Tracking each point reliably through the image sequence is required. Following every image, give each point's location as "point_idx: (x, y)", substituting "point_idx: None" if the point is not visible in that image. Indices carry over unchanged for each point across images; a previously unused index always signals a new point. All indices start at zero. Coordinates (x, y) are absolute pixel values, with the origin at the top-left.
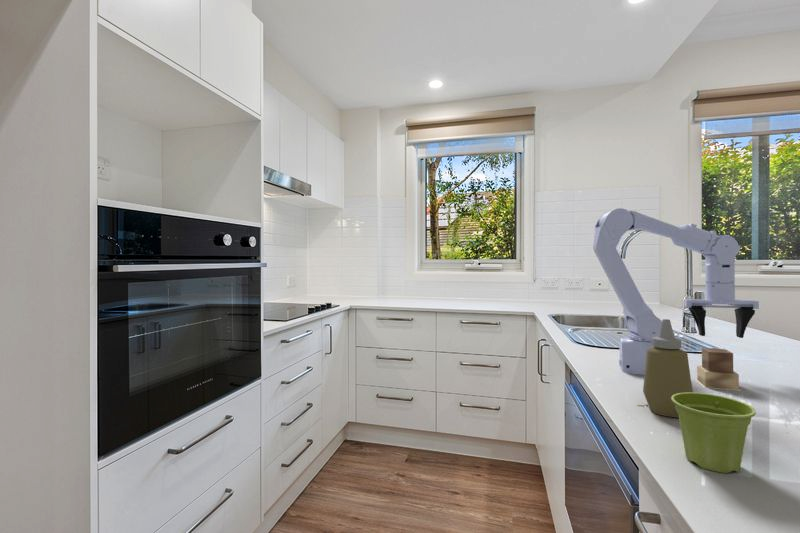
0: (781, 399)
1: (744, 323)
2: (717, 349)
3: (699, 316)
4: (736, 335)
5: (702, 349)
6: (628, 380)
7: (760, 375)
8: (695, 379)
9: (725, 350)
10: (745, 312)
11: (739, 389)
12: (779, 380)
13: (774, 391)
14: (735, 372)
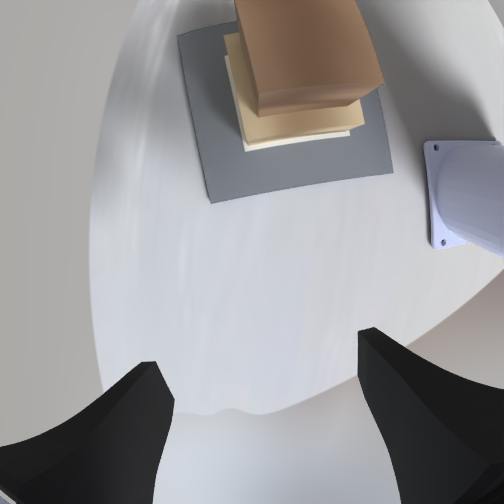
0: (135, 67)
1: (87, 420)
2: (305, 63)
3: (486, 399)
4: (173, 404)
5: (378, 73)
6: (482, 85)
7: (154, 343)
8: (349, 134)
9: (263, 49)
10: (18, 472)
11: (226, 68)
12: (115, 306)
13: (132, 149)
14: (230, 60)
